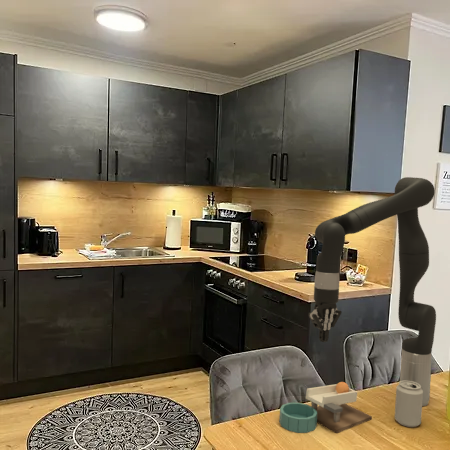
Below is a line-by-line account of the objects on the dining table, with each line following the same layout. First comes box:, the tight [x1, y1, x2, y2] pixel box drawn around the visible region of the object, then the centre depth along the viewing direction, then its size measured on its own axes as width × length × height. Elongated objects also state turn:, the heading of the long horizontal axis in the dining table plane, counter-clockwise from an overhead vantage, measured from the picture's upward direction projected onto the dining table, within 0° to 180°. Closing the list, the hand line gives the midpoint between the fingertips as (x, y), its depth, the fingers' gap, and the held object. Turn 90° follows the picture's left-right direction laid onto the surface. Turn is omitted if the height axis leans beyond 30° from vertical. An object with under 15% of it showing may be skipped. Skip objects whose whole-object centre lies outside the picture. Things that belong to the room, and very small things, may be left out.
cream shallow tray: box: [305, 383, 358, 413], centre depth 140 cm, size 15×11×3 cm
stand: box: [310, 401, 373, 434], centre depth 141 cm, size 16×14×6 cm
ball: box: [336, 381, 350, 394], centre depth 144 cm, size 4×4×4 cm
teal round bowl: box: [278, 402, 318, 434], centre depth 136 cm, size 11×11×4 cm
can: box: [394, 380, 423, 428], centre depth 139 cm, size 8×8×12 cm
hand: (323, 341), depth 144 cm, fingers closed
